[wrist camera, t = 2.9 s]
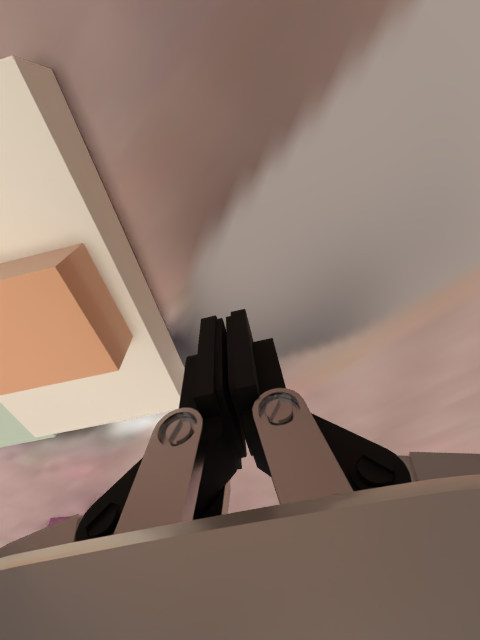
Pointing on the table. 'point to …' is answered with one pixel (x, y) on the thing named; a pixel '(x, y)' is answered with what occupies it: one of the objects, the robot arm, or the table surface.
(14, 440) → the sage mat
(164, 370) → the plate
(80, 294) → the terracotta tile
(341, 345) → the table surface
